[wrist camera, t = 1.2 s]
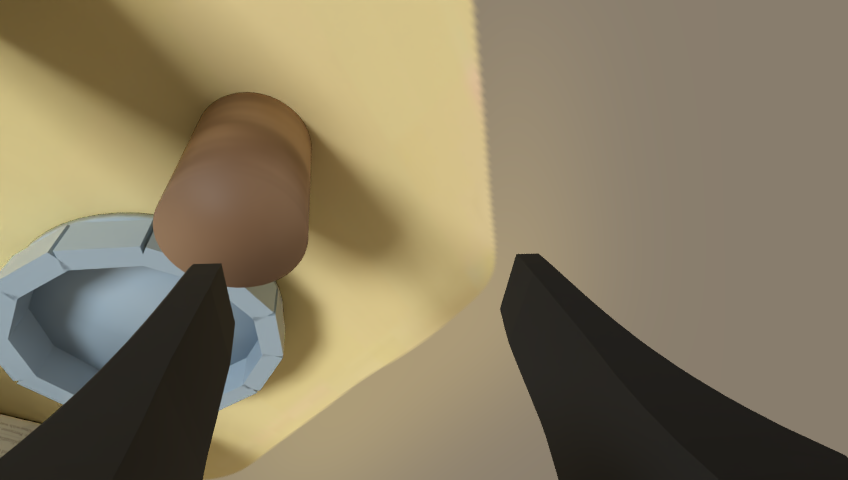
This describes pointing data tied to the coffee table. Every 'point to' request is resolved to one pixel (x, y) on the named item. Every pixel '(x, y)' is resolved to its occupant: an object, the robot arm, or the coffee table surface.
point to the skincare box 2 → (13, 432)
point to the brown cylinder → (240, 192)
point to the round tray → (112, 307)
